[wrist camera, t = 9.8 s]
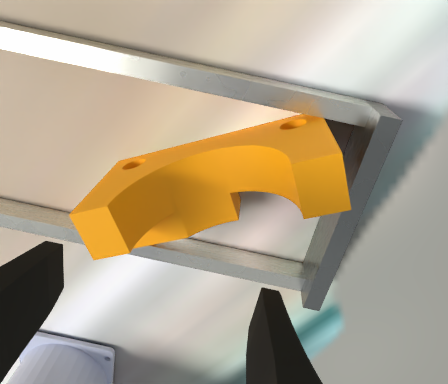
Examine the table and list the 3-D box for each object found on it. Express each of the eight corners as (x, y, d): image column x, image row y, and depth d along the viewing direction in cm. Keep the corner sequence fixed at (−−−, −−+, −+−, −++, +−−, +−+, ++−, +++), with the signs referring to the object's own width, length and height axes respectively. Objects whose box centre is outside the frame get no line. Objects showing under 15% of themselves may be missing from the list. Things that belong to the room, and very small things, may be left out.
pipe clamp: (146, 219, 24) (108, 287, 18) (119, 160, 22) (68, 215, 16) (332, 180, 21) (356, 244, 16) (318, 109, 19) (342, 152, 14)
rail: (313, 277, 24) (319, 311, 22) (-123, 183, 24) (-171, 205, 22) (382, 103, 19) (402, 120, 16) (-184, -19, 19) (-257, -23, 16)
